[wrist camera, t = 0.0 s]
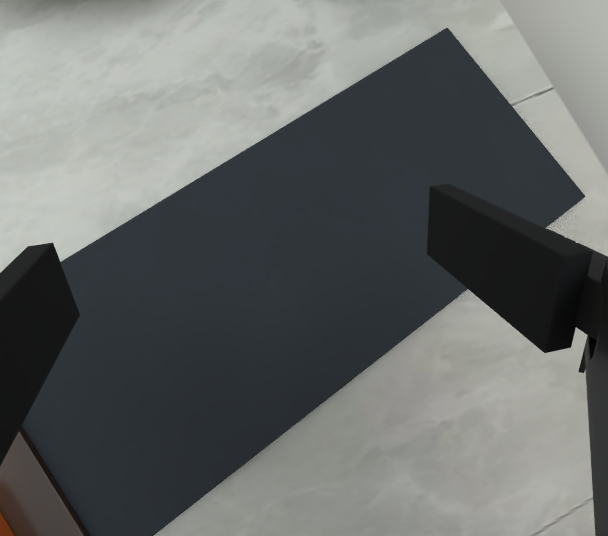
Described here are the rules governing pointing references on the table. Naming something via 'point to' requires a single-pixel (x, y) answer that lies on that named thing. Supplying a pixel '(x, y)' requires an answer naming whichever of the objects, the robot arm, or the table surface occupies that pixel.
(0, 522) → the packet orange
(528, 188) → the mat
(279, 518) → the table surface
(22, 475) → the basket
